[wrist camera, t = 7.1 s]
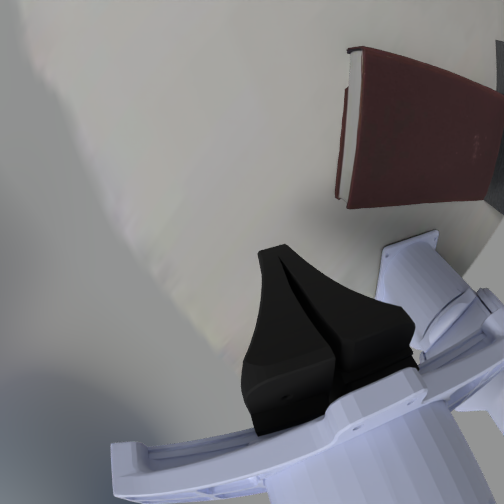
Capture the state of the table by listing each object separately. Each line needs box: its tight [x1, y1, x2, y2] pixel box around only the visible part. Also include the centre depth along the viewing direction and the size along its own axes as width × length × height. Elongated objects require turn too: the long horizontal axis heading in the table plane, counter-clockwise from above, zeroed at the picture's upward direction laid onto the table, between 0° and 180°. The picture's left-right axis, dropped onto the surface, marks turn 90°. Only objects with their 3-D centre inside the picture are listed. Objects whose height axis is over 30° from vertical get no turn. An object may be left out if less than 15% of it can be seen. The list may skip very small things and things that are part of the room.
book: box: [335, 46, 504, 209], centre depth 21 cm, size 12×19×3 cm, turn 90°
